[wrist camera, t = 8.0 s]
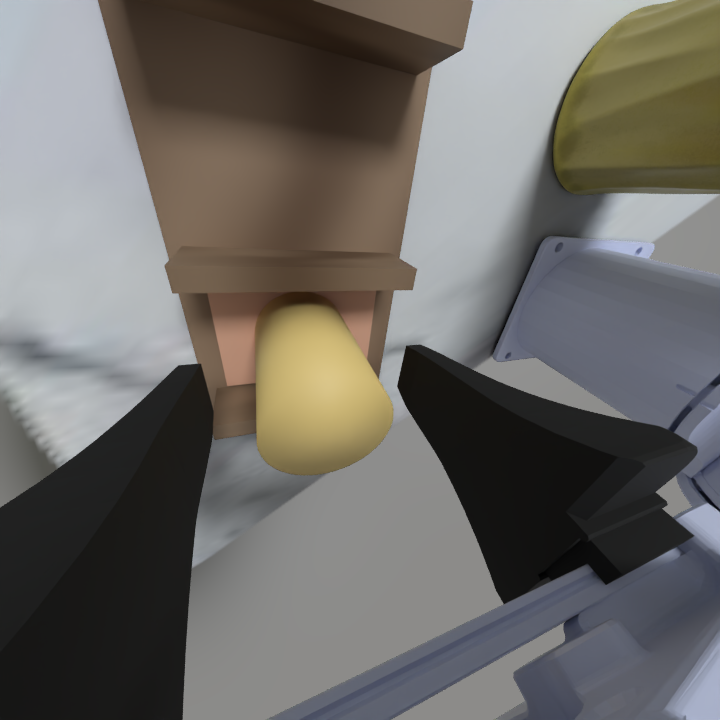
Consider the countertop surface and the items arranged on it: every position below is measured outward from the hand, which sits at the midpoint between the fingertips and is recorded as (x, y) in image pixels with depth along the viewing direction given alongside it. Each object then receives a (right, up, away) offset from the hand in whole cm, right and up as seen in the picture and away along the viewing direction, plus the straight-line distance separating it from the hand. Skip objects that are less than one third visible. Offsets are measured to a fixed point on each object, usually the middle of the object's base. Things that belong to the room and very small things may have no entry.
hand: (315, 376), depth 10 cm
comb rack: (-1, +5, +1) cm, 5 cm away
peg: (-1, +2, +3) cm, 3 cm away
